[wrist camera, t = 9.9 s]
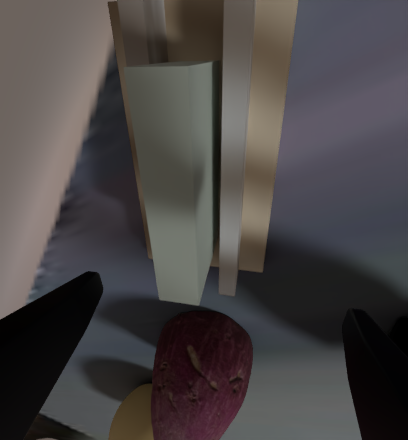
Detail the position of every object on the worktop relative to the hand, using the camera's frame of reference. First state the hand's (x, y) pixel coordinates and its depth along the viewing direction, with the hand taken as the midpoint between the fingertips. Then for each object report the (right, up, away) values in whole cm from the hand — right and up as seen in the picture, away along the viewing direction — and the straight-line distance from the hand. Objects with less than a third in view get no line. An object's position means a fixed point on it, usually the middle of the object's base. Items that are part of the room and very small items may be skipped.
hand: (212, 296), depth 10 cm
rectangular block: (-1, +7, +9) cm, 11 cm away
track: (0, +7, +10) cm, 12 cm away
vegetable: (0, -11, +21) cm, 24 cm away
